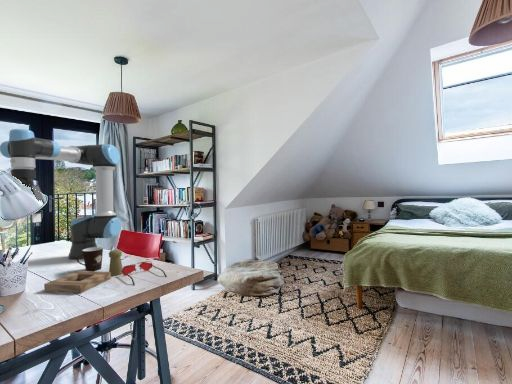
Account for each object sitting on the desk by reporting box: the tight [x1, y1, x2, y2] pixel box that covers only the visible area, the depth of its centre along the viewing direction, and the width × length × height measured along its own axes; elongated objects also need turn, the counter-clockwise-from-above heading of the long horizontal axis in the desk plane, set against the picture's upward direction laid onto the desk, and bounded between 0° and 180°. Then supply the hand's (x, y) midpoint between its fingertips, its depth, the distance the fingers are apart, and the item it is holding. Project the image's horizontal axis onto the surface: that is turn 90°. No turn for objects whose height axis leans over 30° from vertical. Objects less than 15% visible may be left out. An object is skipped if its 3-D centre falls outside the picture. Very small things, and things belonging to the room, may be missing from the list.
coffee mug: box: [76, 246, 104, 271], centre depth 130 cm, size 12×9×10 cm
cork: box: [108, 249, 124, 277], centre depth 123 cm, size 6×6×11 cm
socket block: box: [43, 270, 112, 294], centre depth 110 cm, size 16×16×3 cm
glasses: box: [121, 260, 168, 286], centre depth 119 cm, size 14×16×5 cm
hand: (26, 221), depth 109 cm, fingers open, 13 cm apart
